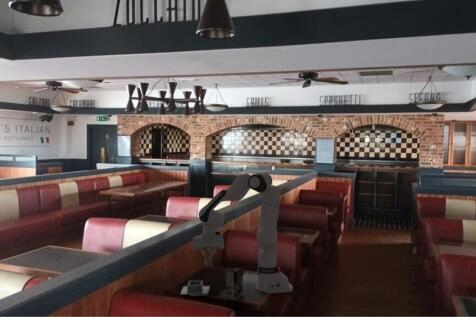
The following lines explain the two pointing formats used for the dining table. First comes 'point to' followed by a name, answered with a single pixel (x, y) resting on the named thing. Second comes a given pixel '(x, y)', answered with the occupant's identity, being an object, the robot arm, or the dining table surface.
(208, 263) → the beech pin
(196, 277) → the dining table surface
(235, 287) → the coffee box
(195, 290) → the socket plate
